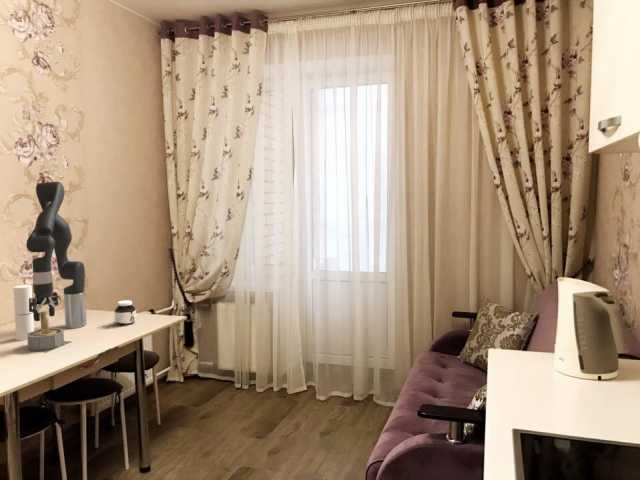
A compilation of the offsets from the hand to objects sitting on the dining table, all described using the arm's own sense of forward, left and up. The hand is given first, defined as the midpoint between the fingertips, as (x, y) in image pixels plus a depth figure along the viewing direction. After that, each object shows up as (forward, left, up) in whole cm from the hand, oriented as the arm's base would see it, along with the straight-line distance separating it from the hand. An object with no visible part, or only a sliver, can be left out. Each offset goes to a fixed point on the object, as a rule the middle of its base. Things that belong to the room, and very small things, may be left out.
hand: (44, 318), depth 217 cm
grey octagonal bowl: (0, 0, -12) cm, 12 cm away
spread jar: (-45, +9, -13) cm, 48 cm away
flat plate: (0, 0, -13) cm, 13 cm away
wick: (0, 0, -11) cm, 11 cm away
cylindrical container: (-8, -18, -13) cm, 24 cm away
